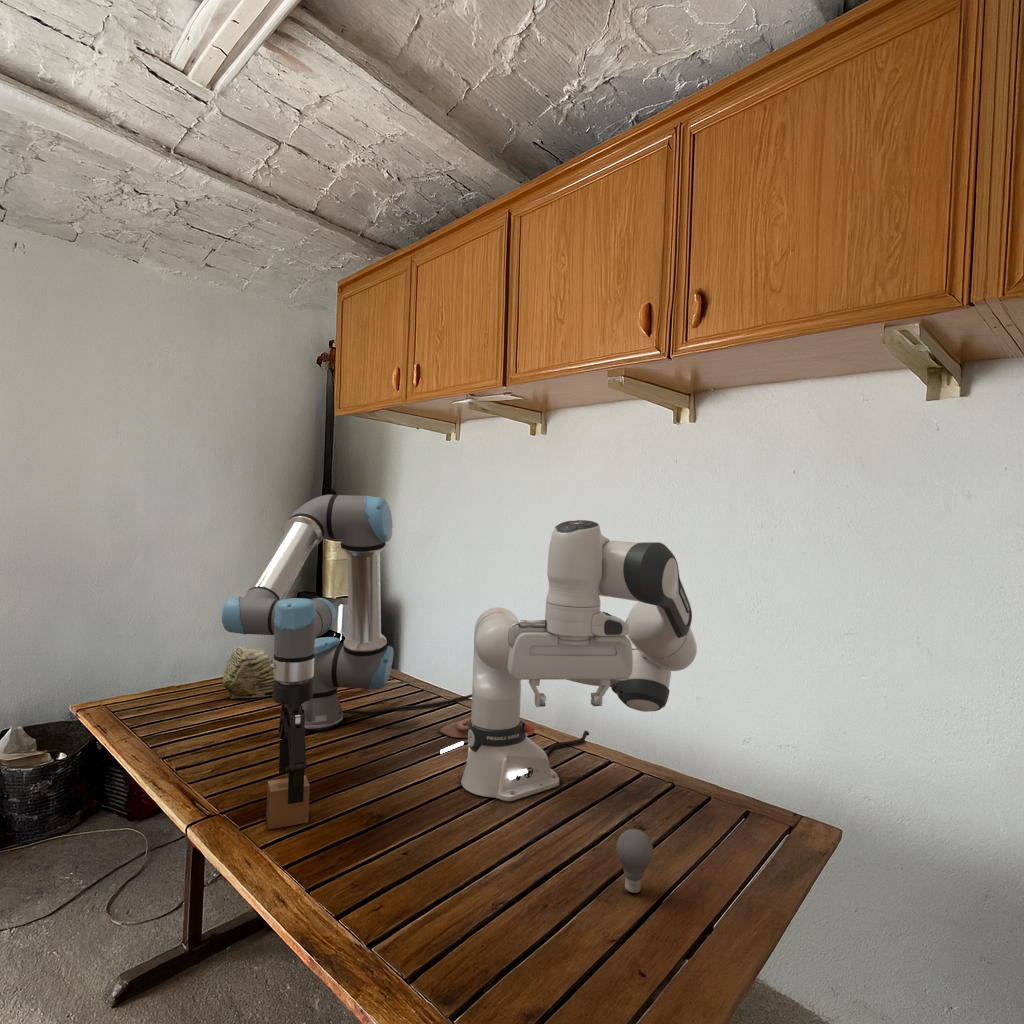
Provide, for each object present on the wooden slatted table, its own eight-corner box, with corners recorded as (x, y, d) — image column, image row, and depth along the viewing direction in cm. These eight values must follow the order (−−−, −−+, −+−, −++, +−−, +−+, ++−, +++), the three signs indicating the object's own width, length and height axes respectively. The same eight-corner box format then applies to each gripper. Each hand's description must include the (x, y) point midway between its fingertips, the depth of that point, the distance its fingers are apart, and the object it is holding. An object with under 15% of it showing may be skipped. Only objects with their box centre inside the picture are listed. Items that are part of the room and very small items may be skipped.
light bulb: (610, 879, 108) (613, 822, 108) (644, 879, 109) (647, 822, 109) (619, 902, 102) (622, 840, 102) (655, 901, 103) (658, 840, 103)
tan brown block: (266, 817, 124) (267, 780, 124) (304, 810, 128) (305, 774, 127) (269, 829, 120) (270, 791, 120) (308, 822, 123) (309, 785, 123)
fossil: (218, 695, 195) (220, 647, 195) (278, 685, 208) (279, 640, 207) (228, 703, 189) (230, 653, 188) (289, 692, 201) (290, 645, 201)
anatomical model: (436, 720, 170) (448, 707, 182) (435, 735, 170) (448, 721, 182) (483, 726, 168) (493, 712, 179) (483, 741, 168) (493, 726, 179)
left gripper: (266, 663, 133) (263, 762, 134) (281, 702, 110) (277, 821, 111) (303, 660, 136) (300, 757, 137) (325, 697, 114) (321, 812, 115)
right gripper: (512, 623, 98) (508, 712, 98) (638, 625, 101) (634, 711, 101) (505, 616, 104) (502, 699, 104) (624, 617, 107) (621, 698, 108)
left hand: (290, 786), depth 124 cm, fingers open, 13 cm apart
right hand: (568, 705), depth 103 cm, fingers open, 8 cm apart
